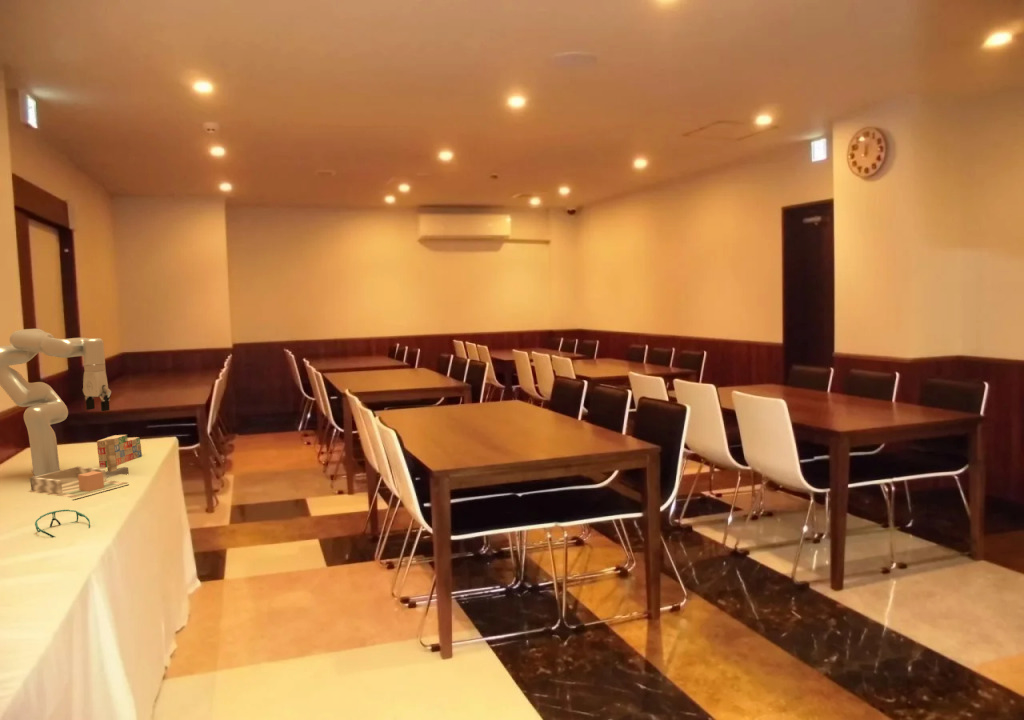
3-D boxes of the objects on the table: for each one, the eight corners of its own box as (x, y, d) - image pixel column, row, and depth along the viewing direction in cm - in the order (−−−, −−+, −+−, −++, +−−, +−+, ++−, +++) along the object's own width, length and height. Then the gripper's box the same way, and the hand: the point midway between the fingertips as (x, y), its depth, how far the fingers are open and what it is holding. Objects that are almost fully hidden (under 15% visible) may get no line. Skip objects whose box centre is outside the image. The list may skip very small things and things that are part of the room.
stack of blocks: (130, 456, 355) (127, 431, 353) (142, 456, 354) (139, 430, 353) (99, 467, 334) (96, 440, 332) (112, 467, 333) (109, 440, 332)
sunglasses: (77, 520, 251) (76, 505, 250) (96, 531, 242) (95, 516, 241) (29, 532, 240) (28, 517, 239) (48, 544, 231) (47, 529, 230)
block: (79, 490, 288) (77, 474, 287) (94, 486, 293) (92, 471, 292) (89, 491, 285) (87, 476, 284) (104, 487, 290) (102, 472, 290)
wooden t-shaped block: (97, 481, 307) (92, 442, 305) (124, 474, 317) (120, 436, 316) (101, 481, 305) (97, 442, 304) (128, 474, 316) (124, 436, 314)
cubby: (27, 494, 291) (25, 478, 291) (83, 479, 310) (81, 465, 310) (74, 500, 277) (72, 484, 276) (129, 485, 296) (127, 470, 295)
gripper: (73, 368, 308) (76, 410, 310) (99, 370, 300) (102, 412, 302) (90, 366, 315) (93, 407, 317) (116, 368, 307) (119, 409, 308)
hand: (98, 409), depth 309 cm, fingers open, 9 cm apart
